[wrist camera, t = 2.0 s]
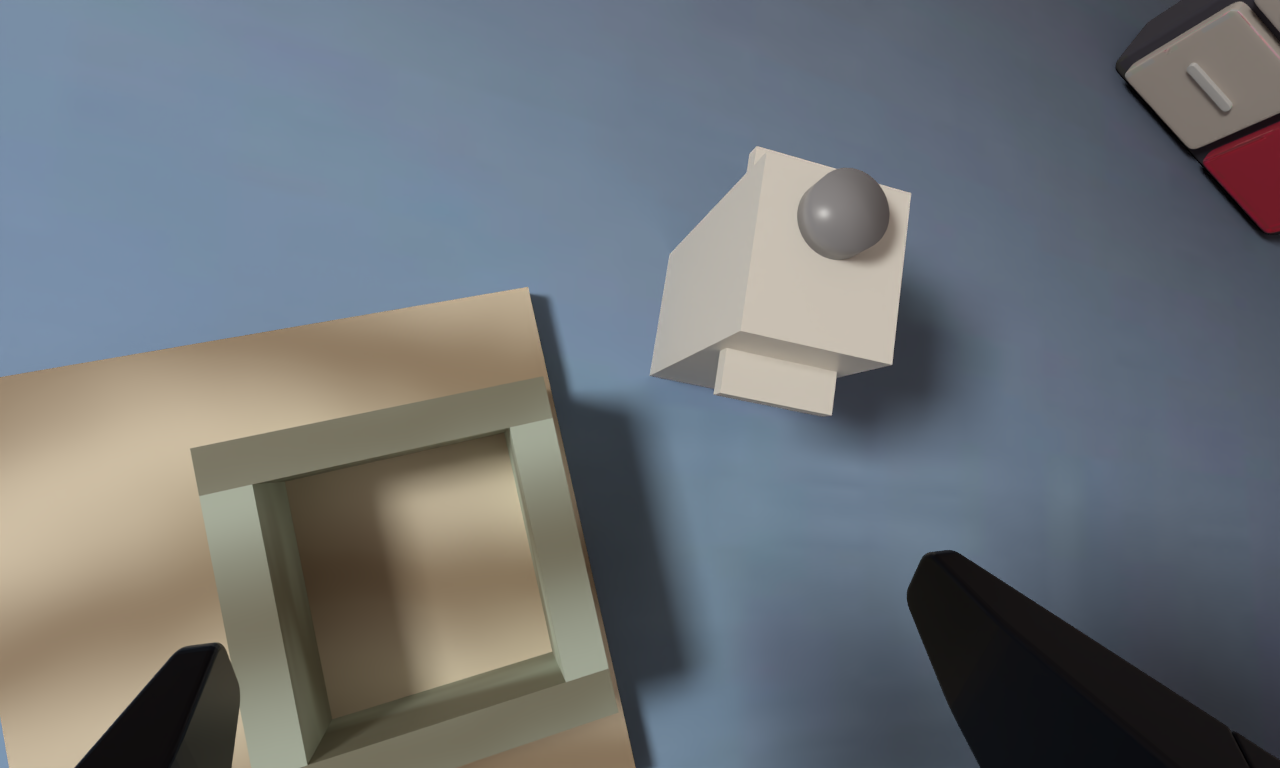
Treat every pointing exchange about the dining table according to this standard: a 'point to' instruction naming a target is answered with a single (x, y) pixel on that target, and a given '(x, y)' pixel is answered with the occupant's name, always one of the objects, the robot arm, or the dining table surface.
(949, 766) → the dining table surface
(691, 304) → the block
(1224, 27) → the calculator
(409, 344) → the plate
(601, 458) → the dining table surface
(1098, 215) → the dining table surface
